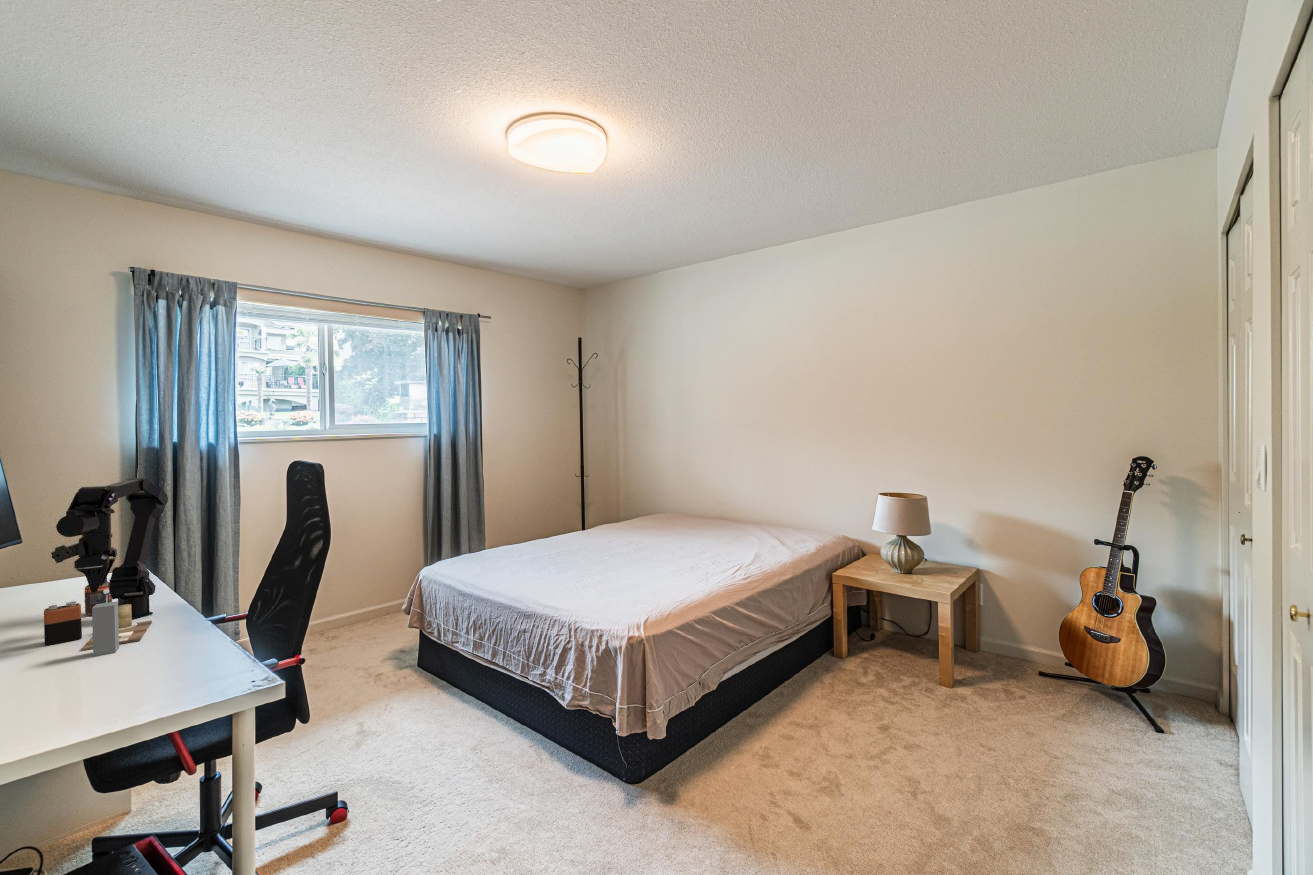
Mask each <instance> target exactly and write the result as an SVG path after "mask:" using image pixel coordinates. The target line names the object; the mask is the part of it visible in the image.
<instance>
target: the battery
mask: <svg viewBox="0 0 1313 875" xmlns="http://www.w3.org/2000/svg"><path fill="white" fill-rule="evenodd" d="M82 626H83V625H82V605H81V603H80V602H79V603H77V601H76V600H75V601H69V602H65V604H64V605H59V606H58V605H57V604H53V605H49V606H48V607H47V608H45V609H44V610H43V632H44V647H45V646H46V647H48V646H53V645H59V644H64V643H68V642H73V641H79V640H81V639H82V638H83V632H82V630H83V629H82V628H83V627H82Z"/></svg>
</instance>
